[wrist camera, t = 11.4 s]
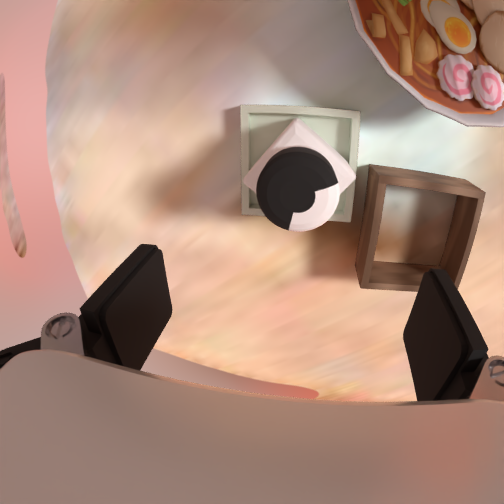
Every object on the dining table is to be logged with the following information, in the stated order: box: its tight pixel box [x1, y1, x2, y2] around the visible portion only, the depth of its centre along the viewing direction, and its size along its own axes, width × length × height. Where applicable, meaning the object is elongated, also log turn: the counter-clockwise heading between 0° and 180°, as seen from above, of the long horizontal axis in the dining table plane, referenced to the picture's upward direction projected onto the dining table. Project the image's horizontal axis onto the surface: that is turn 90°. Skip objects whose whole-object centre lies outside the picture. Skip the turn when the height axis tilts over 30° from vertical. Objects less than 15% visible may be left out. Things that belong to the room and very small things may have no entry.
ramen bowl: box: [347, 0, 504, 127], centre depth 18 cm, size 25×23×8 cm
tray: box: [240, 105, 361, 222], centre depth 31 cm, size 12×12×2 cm
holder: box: [355, 164, 486, 292], centre depth 30 cm, size 13×13×5 cm
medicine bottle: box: [243, 118, 356, 232], centre depth 26 cm, size 7×7×12 cm
